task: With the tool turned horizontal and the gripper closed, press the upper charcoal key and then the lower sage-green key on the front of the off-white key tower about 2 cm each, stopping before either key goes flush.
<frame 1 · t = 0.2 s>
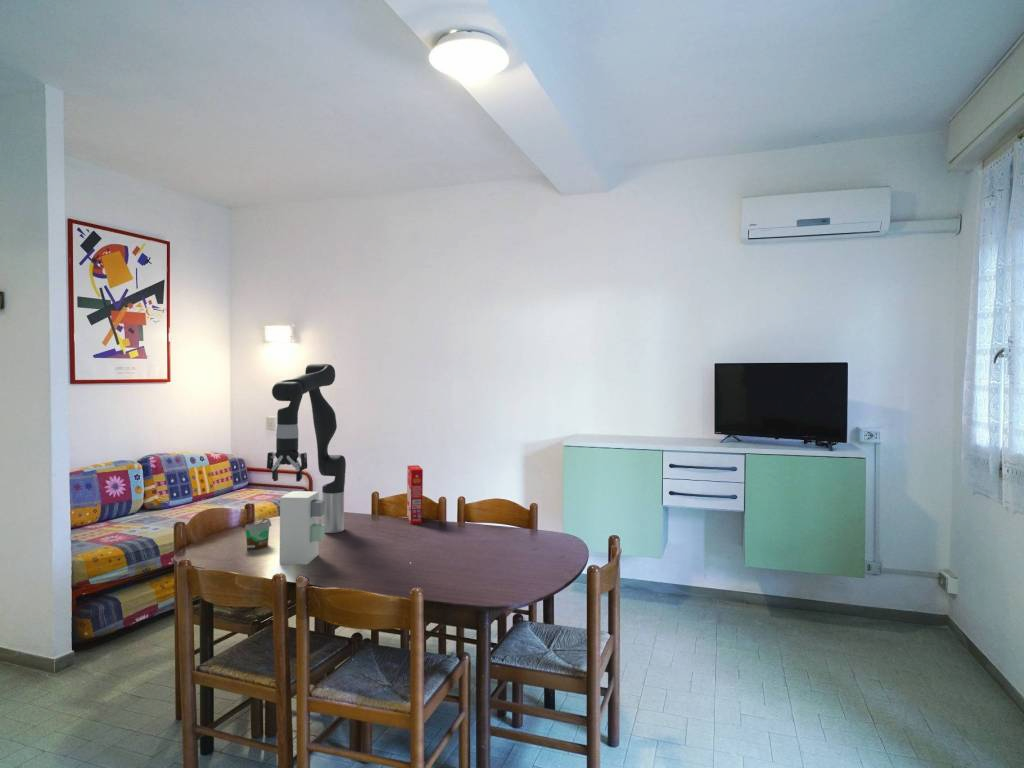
hand: (286, 481, 222), 29 cm above the table, tool pointing down, fingers open, 8 cm apart
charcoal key: (314, 508, 224), point 19 cm above the table, slide at 0.0 cm
key tower: (299, 559, 225), on the table
sage key: (314, 532, 224), point 10 cm above the table, slide at 0.0 cm
food packaging: (414, 520, 289), on the table
food container: (261, 547, 241), on the table
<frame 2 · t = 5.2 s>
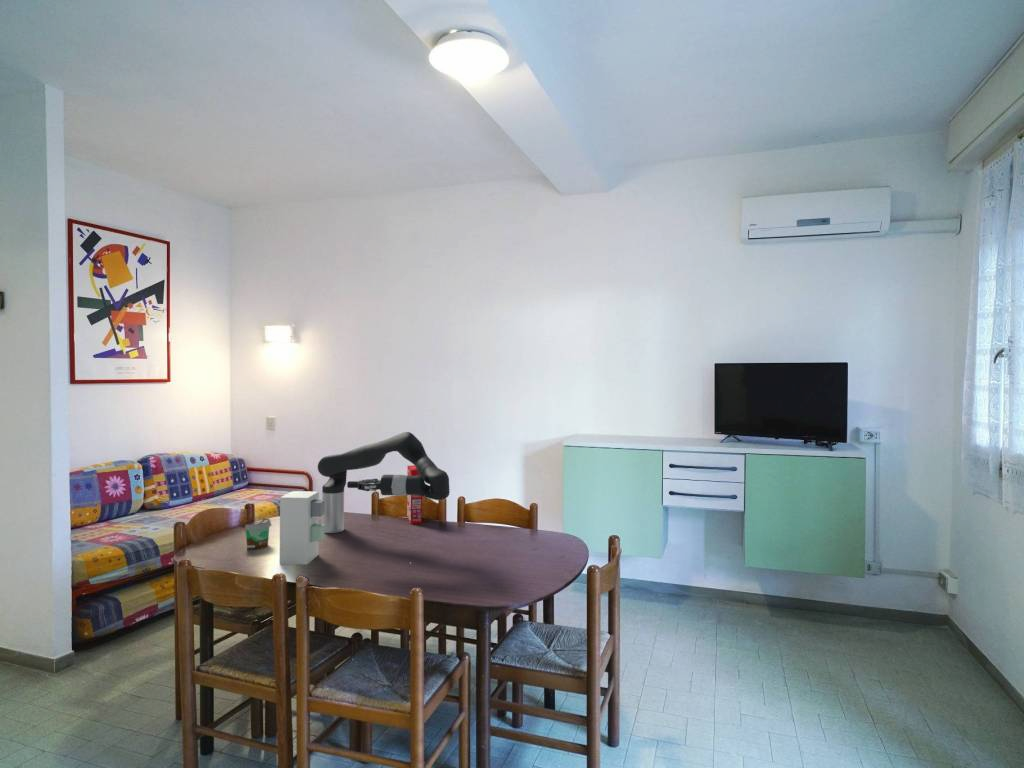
hand: (347, 484, 223), 28 cm above the table, tool horizontal, fingers closed
nothing on the table moved.
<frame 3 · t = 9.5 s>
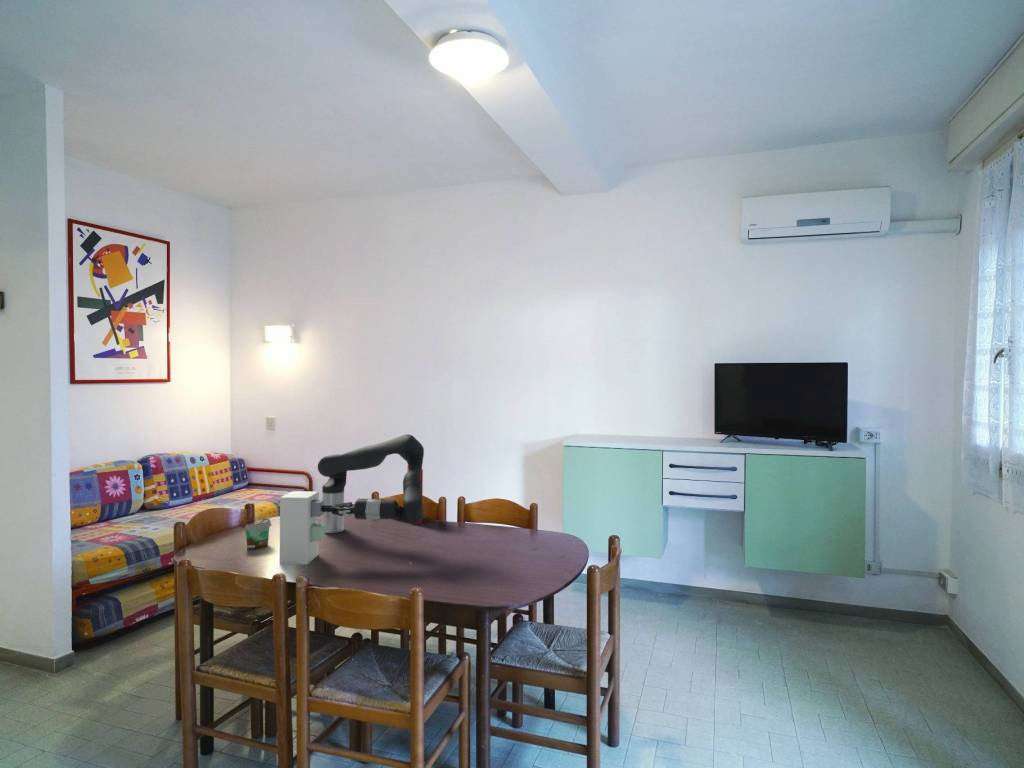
hand: (322, 508, 224), 19 cm above the table, tool horizontal, fingers closed
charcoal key: (314, 508, 224), point 19 cm above the table, slide at 0.2 cm, touching gripper
everything else where it was.
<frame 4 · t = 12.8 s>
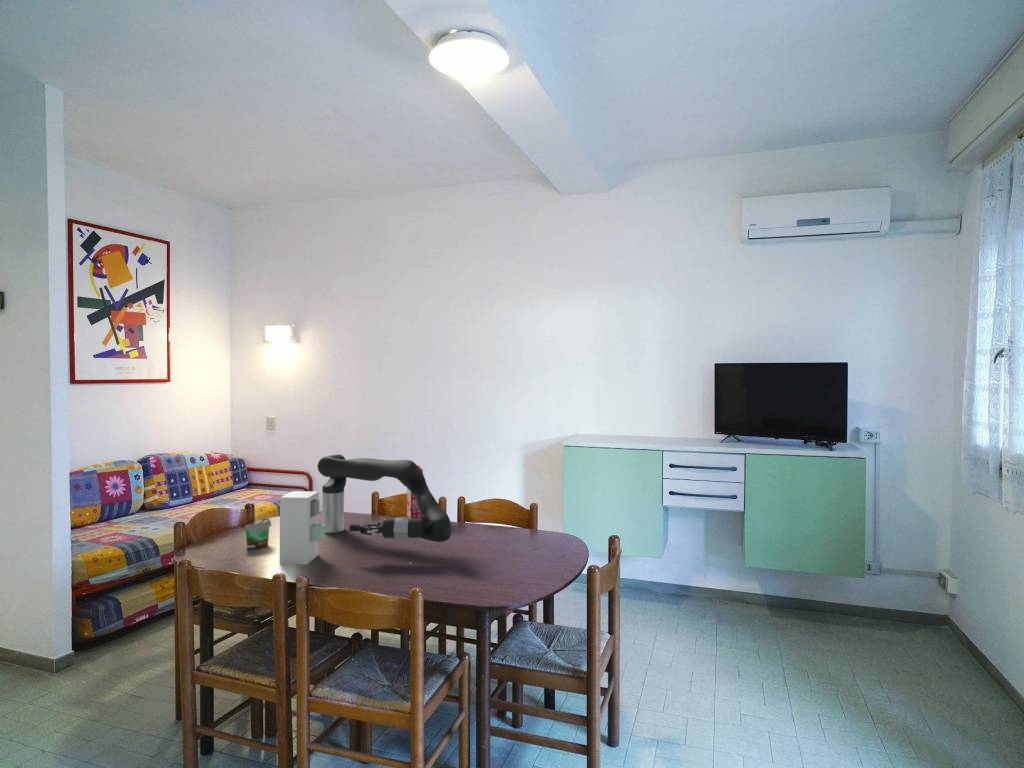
hand: (349, 527, 224), 12 cm above the table, tool horizontal, fingers closed
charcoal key: (308, 508, 224), point 19 cm above the table, slide at 2.1 cm
everything else where it was.
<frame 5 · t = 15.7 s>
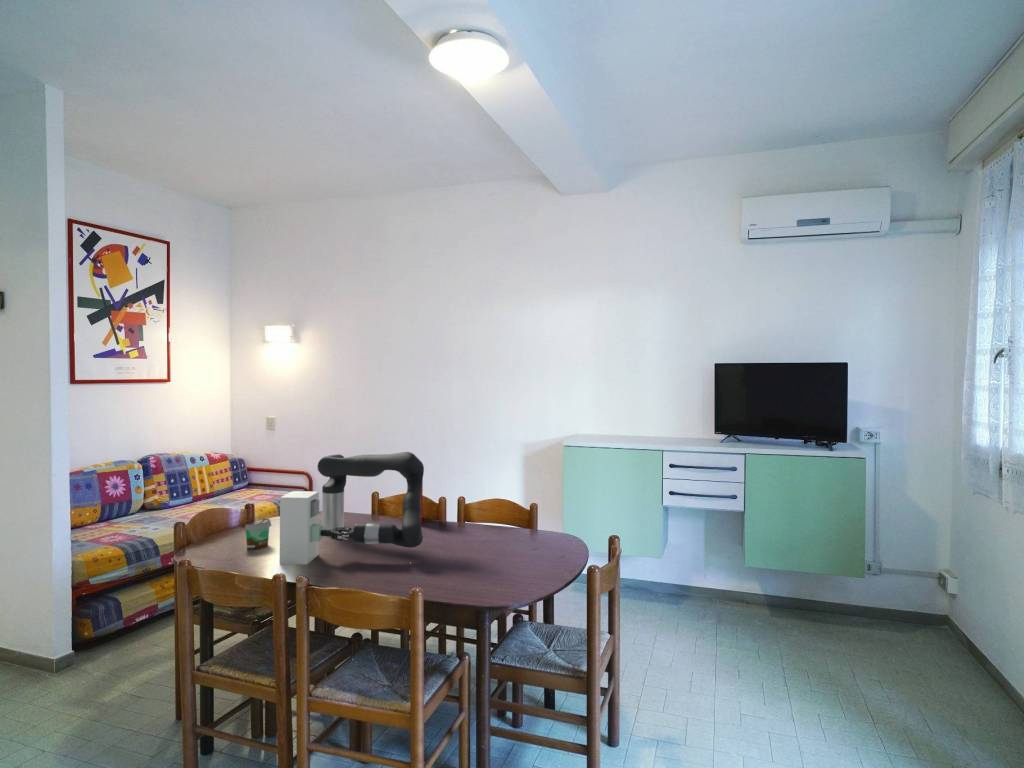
hand: (321, 532, 225), 10 cm above the table, tool horizontal, fingers closed
sage key: (312, 532, 224), point 10 cm above the table, slide at 0.6 cm, touching gripper
everything else where it was.
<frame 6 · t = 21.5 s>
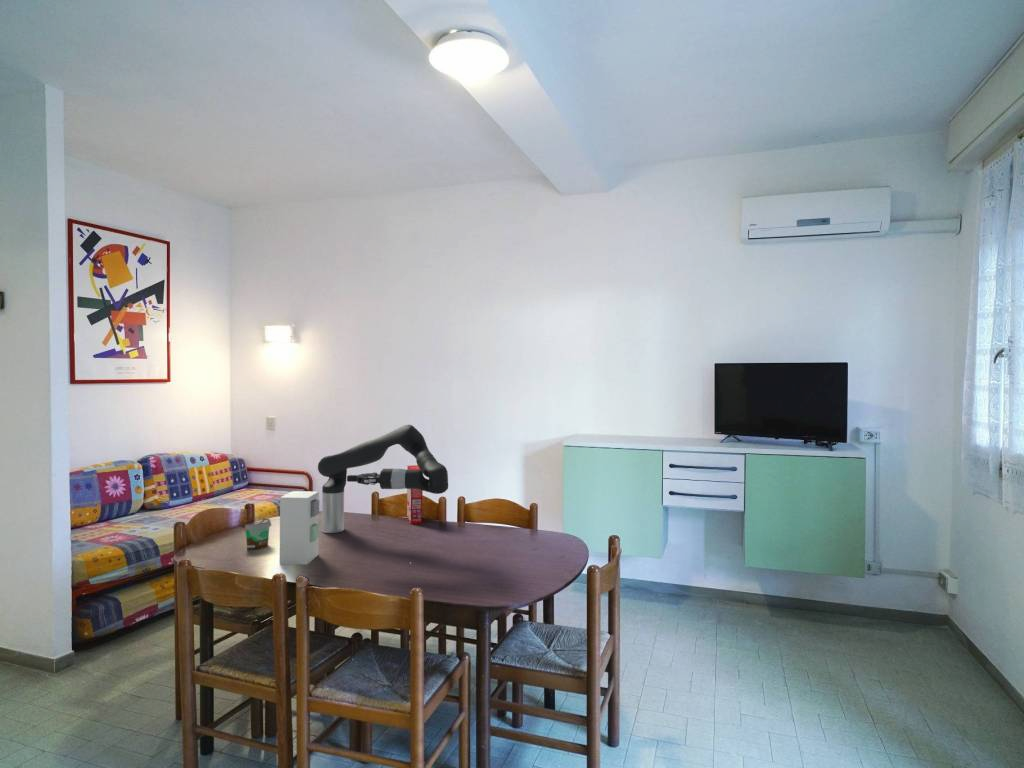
hand: (347, 478, 225), 30 cm above the table, tool horizontal, fingers closed
sage key: (308, 532, 224), point 10 cm above the table, slide at 2.1 cm
everything else where it was.
at the end: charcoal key slide at 2.1 cm; sage key slide at 2.1 cm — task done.
